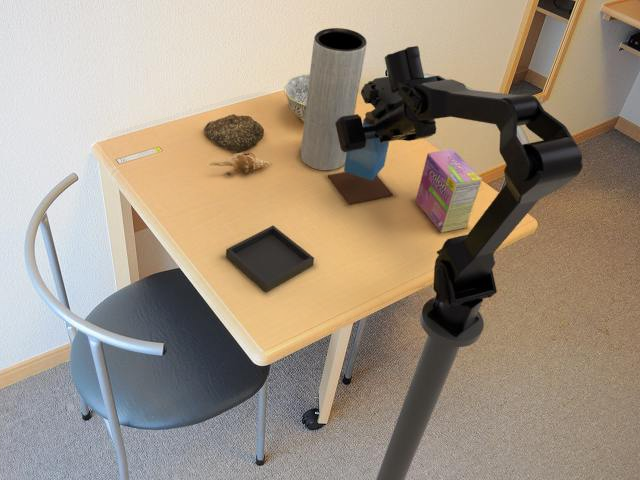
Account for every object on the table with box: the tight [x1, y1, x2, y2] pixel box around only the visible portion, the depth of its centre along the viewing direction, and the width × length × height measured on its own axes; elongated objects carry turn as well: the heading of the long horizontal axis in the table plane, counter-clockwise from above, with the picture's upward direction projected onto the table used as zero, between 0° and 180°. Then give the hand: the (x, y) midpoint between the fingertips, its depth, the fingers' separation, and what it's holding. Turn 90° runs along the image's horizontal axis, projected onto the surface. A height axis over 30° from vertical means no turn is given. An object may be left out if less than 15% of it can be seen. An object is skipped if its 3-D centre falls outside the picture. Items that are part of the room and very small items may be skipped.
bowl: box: [283, 73, 310, 123], centre depth 152 cm, size 16×16×8 cm
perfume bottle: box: [343, 110, 390, 181], centre depth 129 cm, size 6×6×12 cm
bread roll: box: [203, 113, 265, 153], centre depth 147 cm, size 13×12×5 cm
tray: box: [225, 225, 315, 293], centre depth 118 cm, size 11×11×2 cm
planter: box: [300, 27, 368, 171], centre depth 134 cm, size 10×10×27 cm
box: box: [415, 148, 483, 233], centre depth 126 cm, size 10×6×12 cm, turn 17°
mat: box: [327, 171, 394, 206], centre depth 136 cm, size 10×10×1 cm
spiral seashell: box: [207, 151, 273, 177], centre depth 137 cm, size 14×5×4 cm, turn 127°
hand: (365, 138), depth 129 cm, fingers closed on perfume bottle, 9 cm apart
